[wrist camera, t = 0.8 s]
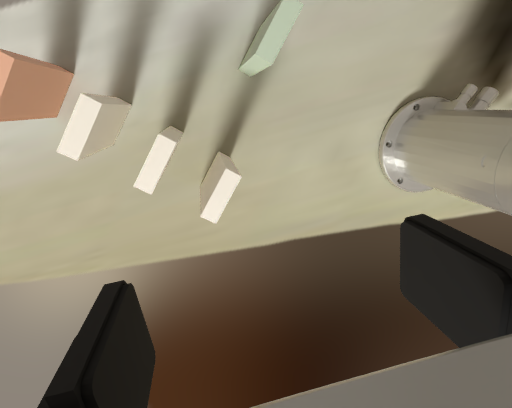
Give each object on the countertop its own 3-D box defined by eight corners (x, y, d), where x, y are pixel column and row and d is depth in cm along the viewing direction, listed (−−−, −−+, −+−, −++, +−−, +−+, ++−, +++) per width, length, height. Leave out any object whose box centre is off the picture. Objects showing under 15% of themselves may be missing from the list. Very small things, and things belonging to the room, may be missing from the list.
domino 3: (183, 132, 36) (176, 142, 25) (165, 169, 37) (151, 194, 26) (170, 125, 35) (158, 133, 25) (152, 163, 36) (133, 186, 26)
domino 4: (230, 157, 37) (241, 176, 27) (211, 192, 38) (215, 223, 28) (218, 151, 37) (226, 168, 27) (199, 186, 38) (200, 216, 28)
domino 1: (74, 74, 32) (14, 58, 22) (56, 117, 33) (-9, 122, 23) (58, 65, 31) (-11, 45, 21) (40, 109, 32) (-33, 111, 22)
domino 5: (272, 35, 34) (303, 4, 24) (250, 76, 35) (272, 64, 25) (260, 27, 34) (286, -9, 23) (238, 69, 35) (255, 53, 24)
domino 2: (131, 104, 34) (101, 103, 23) (113, 144, 35) (77, 161, 24) (117, 97, 33) (80, 93, 23) (99, 138, 34) (56, 151, 24)
